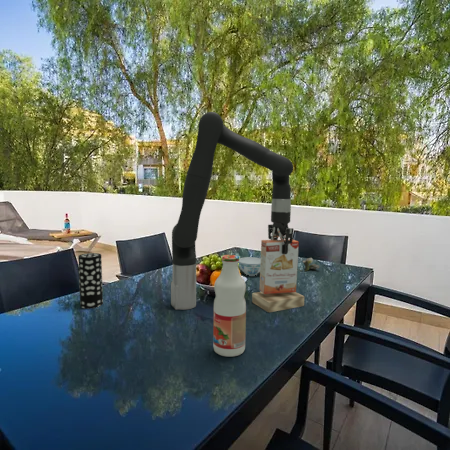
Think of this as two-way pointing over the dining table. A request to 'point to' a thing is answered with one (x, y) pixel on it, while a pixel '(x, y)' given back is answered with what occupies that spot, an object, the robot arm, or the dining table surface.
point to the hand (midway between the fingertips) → (279, 252)
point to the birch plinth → (277, 301)
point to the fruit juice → (229, 309)
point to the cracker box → (278, 267)
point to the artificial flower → (313, 266)
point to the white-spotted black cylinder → (90, 280)
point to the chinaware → (250, 265)
